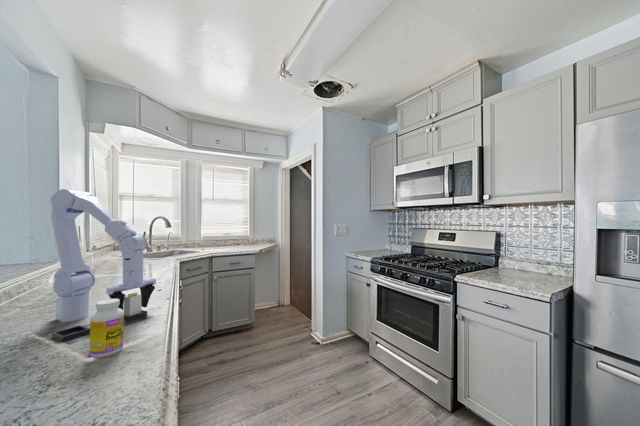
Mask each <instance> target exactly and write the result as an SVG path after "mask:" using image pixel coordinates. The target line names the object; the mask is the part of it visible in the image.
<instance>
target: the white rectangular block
mask: <svg viewBox="0 0 640 426" xmlns="http://www.w3.org/2000/svg"><path fill="white" fill-rule="evenodd" d="M141 310H142V305H141V294H139V293H138V292H133V293H129V294H127V295H125V297H124V303H123V311H124V315H125V316H132V315H135V314H138V313H141Z"/></svg>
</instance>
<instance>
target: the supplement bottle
mask: <svg viewBox="0 0 640 426" xmlns="http://www.w3.org/2000/svg"><path fill="white" fill-rule="evenodd" d="M95 304H96V305H95V309H96V312H94V313H93V314H92V315H91V316H90V319H89V320H90V321H89V322H90V338H89V355H90V356H91V358H93V359H101V358H106V357H110V356H113V355H115V354H117V353H119V352H120V351H121V350H122V349H123V348H124V327H125V326H124V309H123V310H122V309H120V308H118V306H119V304H120V300H119V299H111V298H109V299H103V300H99V301H97V302H96V303H95Z"/></svg>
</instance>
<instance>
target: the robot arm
mask: <svg viewBox="0 0 640 426" xmlns="http://www.w3.org/2000/svg"><path fill="white" fill-rule="evenodd" d="M50 203H51V209H52V210H51V216H50V217H51V222H52V227H53V233H54V237H55V243H56V248H57V253H58V257H59V264H60V269H59V268H58V270H57V271H56V272H55V273H54V275H53V278H54V280H53V281H54V282H53V283H52V284H53V285H52V289H53V291H54V292H55V294H57V297H58V298H57V299H56V300H55V318H53V319H51V322H53V321H59V322H61V323H69V322H74V321H79V320H83V319H85V318H87V317H89V316H90V312H89V311H90V292H91V290H92V287H93V286H94V285H95V283H96V276H95V275H94V273H93V272H92V270H91V267H90V266H89V265H88V264H86V263H84V261H83V260H84V259H83V255H82V251H81V250H82V249H81V246H80V241H79V240H80V239H79V236H78V230H77V225H76V221H75V220H76V219H77V217H78V216H81V215H82V214H84V213H85V212H86V213H88V214H89V215H91V216H92V217H93V218H95V219H96V220H97V221H98V222H99V223H100V224H102V225H103V226H104V232H105V233H106V234H107V235H109V237H111V239H113V240H114V241H115V242H116V243H117V244H118V245H117V247H118V249H119V250H120V253H121V257H122V283H120V284H118V285H117V284H116V285H114V286H111V287H110V286H109V287H107V288H106V295H108V297H109V299H119V300H120V304H119V306H118V308H120V309H122V310H123V311H124V297H125V296H126V294H125V293H123V292H126V291H131V290H134V289H138V288H139V291H140V295H141V308H147V307H148V304H149V301H150V298H151V296H152V294H153V292H154V290H155V289H156V288H155V286H156V284H157V278H149V279H144V250H145V249H146V248H147V246H148V241H147V238H146V237H145V236H144V235H143V234H138V233H137V232H136V231H135V230H133V229H132V228H131V227H130V226H128V225H127V221H125V220H121V219H115V218H114V216H112V215H111V213H109V212H108V211H107V210H106V209H105V207H104V206H103V205H101V204H100V202H99V200H98V198H97V197H96V196H94V194H92V193H91V192H89V191H78V190H69V189H66V188H62V189H61V188H60V189H57V191H55V193H54V194H52V196H50Z"/></svg>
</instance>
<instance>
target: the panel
mask: <svg viewBox="0 0 640 426" xmlns="http://www.w3.org/2000/svg"><path fill="white" fill-rule="evenodd" d="M154 317H155V316H153V315H149V314H148V310H143V309H141V313H138V314H135V315H132V316H125V315H124V327H127V326H130V325H133V324H136V323H140V322H143V321H146V320H149V319H152V318H154ZM46 336H47V337H50V338H52V339H54V340H57V341H59V342H61V343H63V344H64V343H65V344H67V345H69V346H70V345H73V344H76V343H79V342H82V341H84V340H88V339H90V321H89V322H85V323H82V324H79V325H75V326H72V327H69V328H65V329H62V330H57V331H55V332H51V333H48V334H46Z"/></svg>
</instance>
